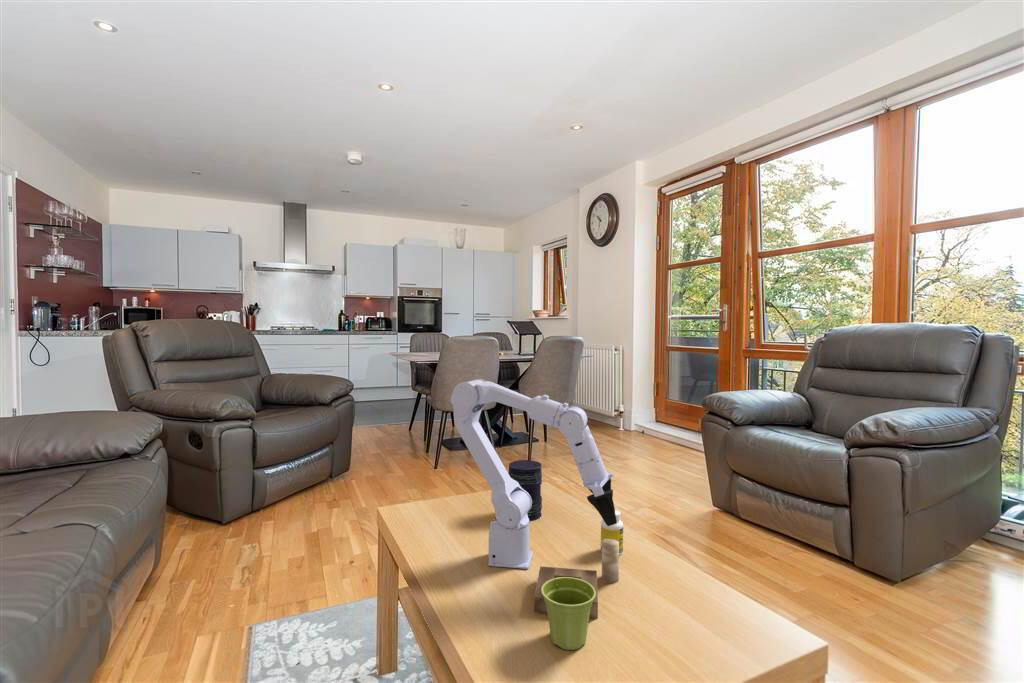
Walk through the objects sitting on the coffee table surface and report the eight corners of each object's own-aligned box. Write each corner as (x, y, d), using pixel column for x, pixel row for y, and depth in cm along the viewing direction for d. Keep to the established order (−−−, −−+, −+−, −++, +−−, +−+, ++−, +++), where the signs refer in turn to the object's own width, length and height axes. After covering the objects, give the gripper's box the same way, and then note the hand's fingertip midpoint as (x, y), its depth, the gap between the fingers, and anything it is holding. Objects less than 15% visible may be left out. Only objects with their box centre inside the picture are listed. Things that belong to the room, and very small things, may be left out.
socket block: (534, 612, 91) (534, 596, 91) (540, 580, 103) (540, 566, 102) (597, 618, 89) (597, 602, 89) (596, 584, 101) (596, 570, 101)
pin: (602, 582, 102) (602, 545, 102) (601, 573, 105) (601, 538, 105) (619, 583, 101) (619, 546, 101) (618, 575, 105) (618, 539, 104)
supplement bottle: (623, 558, 113) (623, 517, 112) (600, 555, 114) (600, 515, 114) (622, 547, 118) (623, 508, 118) (600, 546, 119) (600, 507, 119)
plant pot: (537, 624, 87) (537, 577, 87) (588, 621, 88) (588, 575, 88) (545, 659, 78) (545, 606, 78) (601, 655, 78) (602, 604, 78)
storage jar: (505, 520, 135) (505, 468, 135) (510, 508, 145) (510, 459, 145) (540, 522, 134) (540, 470, 134) (543, 509, 144) (543, 460, 143)
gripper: (606, 460, 98) (631, 523, 96) (604, 447, 112) (626, 503, 111) (574, 471, 99) (598, 534, 97) (576, 458, 113) (598, 512, 112)
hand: (611, 518), depth 104 cm, fingers open, 7 cm apart
